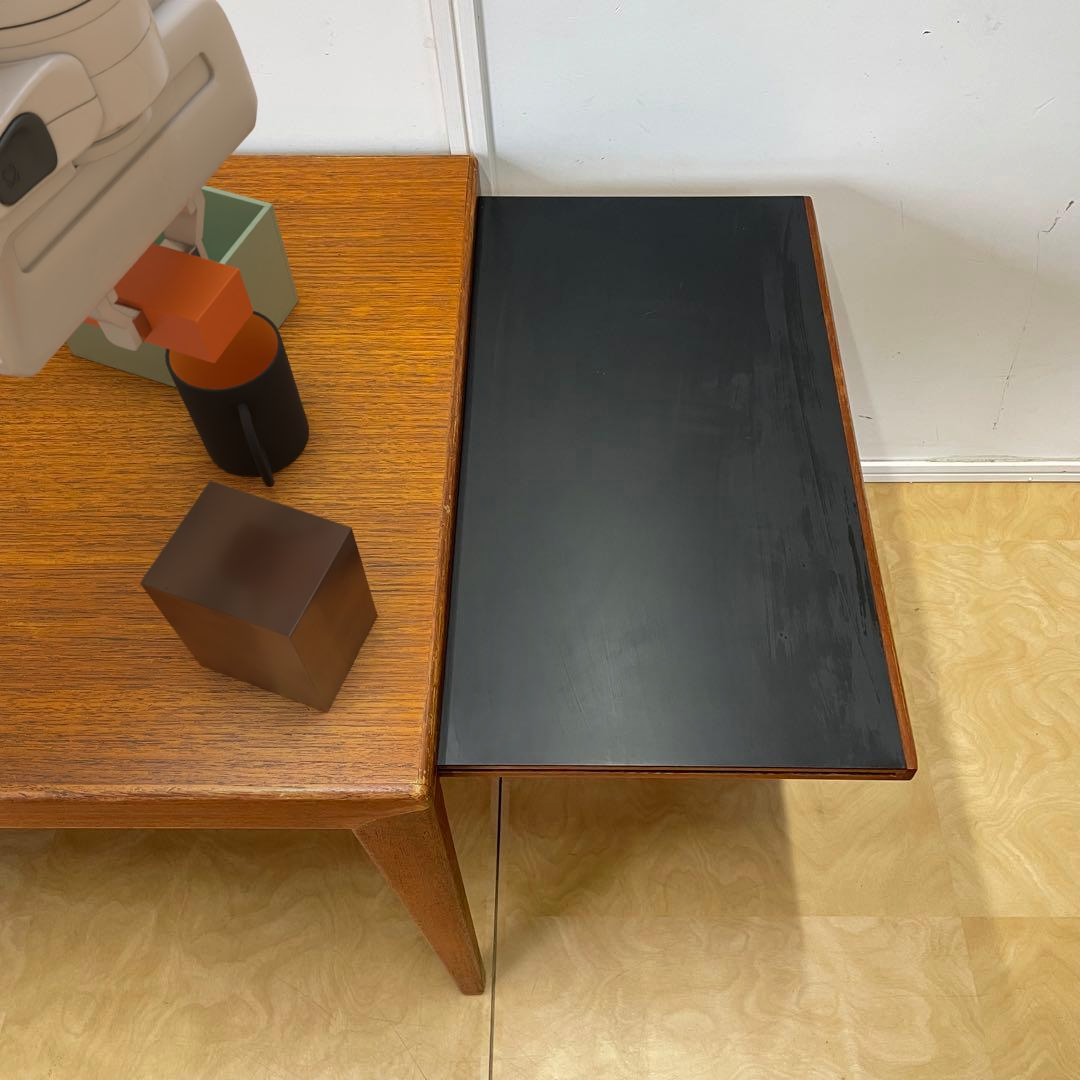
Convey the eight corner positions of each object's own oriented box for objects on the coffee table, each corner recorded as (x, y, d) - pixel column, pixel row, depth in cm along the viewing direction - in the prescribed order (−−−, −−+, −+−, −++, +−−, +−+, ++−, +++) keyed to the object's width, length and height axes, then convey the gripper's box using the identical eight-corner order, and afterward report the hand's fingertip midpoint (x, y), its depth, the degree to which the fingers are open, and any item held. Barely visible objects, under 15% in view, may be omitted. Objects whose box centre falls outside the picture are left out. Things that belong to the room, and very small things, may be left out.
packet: (82, 322, 48) (57, 279, 46) (126, 272, 50) (104, 228, 48) (214, 364, 47) (196, 321, 44) (254, 311, 49) (239, 267, 46)
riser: (199, 665, 65) (139, 582, 54) (256, 572, 69) (209, 479, 58) (327, 713, 63) (289, 637, 53) (378, 615, 67) (352, 527, 57)
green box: (73, 355, 79) (16, 260, 71) (156, 258, 86) (113, 160, 77) (225, 403, 77) (186, 311, 68) (299, 300, 83) (272, 203, 74)
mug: (226, 527, 71) (184, 444, 62) (198, 413, 76) (155, 323, 68) (332, 495, 72) (305, 411, 63) (296, 386, 78) (267, 295, 69)
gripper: (125, -94, 42) (214, 170, 53) (-218, 177, 32) (-15, 428, 43) (247, -68, 40) (311, 196, 52) (-68, 223, 30) (98, 468, 42)
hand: (161, 304), depth 48 cm, fingers closed on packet, 4 cm apart
